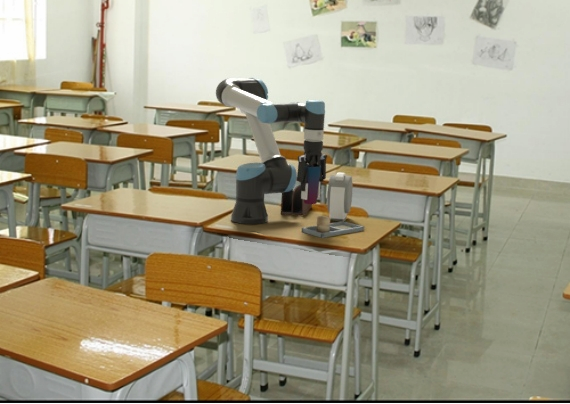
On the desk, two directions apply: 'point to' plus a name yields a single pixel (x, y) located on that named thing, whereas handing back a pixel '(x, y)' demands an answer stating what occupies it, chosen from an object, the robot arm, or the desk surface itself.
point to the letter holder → (294, 203)
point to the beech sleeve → (323, 224)
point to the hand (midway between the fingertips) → (310, 198)
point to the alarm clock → (339, 196)
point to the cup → (312, 184)
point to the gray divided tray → (334, 229)
